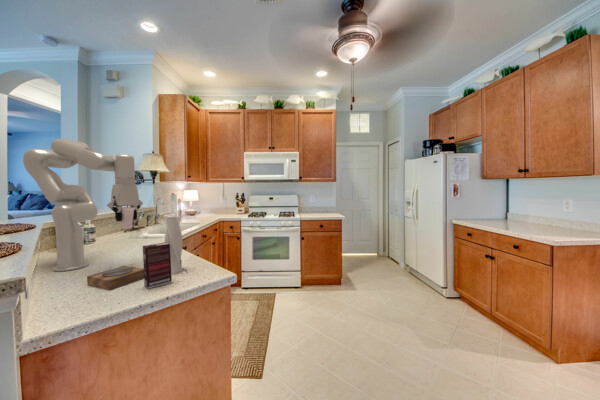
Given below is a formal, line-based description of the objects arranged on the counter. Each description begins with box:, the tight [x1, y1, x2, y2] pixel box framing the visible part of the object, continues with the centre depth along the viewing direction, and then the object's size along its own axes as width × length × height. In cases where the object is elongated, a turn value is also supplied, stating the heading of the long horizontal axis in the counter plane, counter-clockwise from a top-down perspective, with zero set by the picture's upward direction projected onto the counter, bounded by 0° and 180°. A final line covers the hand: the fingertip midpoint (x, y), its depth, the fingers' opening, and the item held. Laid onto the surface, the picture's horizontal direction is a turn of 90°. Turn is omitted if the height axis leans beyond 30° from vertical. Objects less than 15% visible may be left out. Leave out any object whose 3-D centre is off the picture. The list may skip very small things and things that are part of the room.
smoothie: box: [120, 206, 135, 230], centre depth 112 cm, size 6×6×14 cm
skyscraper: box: [163, 210, 188, 275], centre depth 109 cm, size 8×8×28 cm
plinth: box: [86, 265, 144, 291], centre depth 98 cm, size 14×14×4 cm
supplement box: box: [142, 241, 173, 290], centre depth 93 cm, size 9×5×16 cm, turn 134°
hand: (126, 219), depth 112 cm, fingers closed on smoothie, 6 cm apart
